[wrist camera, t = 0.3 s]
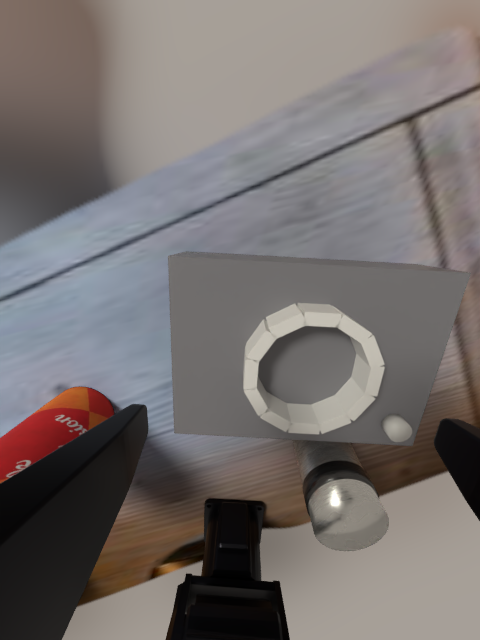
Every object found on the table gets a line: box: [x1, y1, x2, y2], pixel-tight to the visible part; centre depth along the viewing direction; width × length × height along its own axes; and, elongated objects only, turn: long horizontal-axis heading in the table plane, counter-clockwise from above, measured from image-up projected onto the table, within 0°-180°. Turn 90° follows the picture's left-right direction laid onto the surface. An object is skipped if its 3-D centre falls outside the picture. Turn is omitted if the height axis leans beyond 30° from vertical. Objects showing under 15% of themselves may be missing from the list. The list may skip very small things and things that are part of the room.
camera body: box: [168, 251, 471, 446], centre depth 18 cm, size 13×18×7 cm
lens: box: [292, 440, 389, 551], centre depth 21 cm, size 5×5×8 cm
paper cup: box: [0, 387, 114, 483], centre depth 18 cm, size 8×8×14 cm
